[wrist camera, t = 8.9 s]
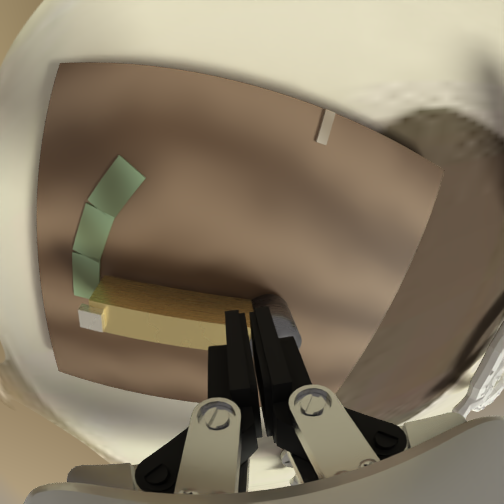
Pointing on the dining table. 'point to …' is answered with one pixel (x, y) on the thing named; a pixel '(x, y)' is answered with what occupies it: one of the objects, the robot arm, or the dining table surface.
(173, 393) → the tuner board
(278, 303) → the peg
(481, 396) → the pretzel
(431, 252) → the dining table surface
